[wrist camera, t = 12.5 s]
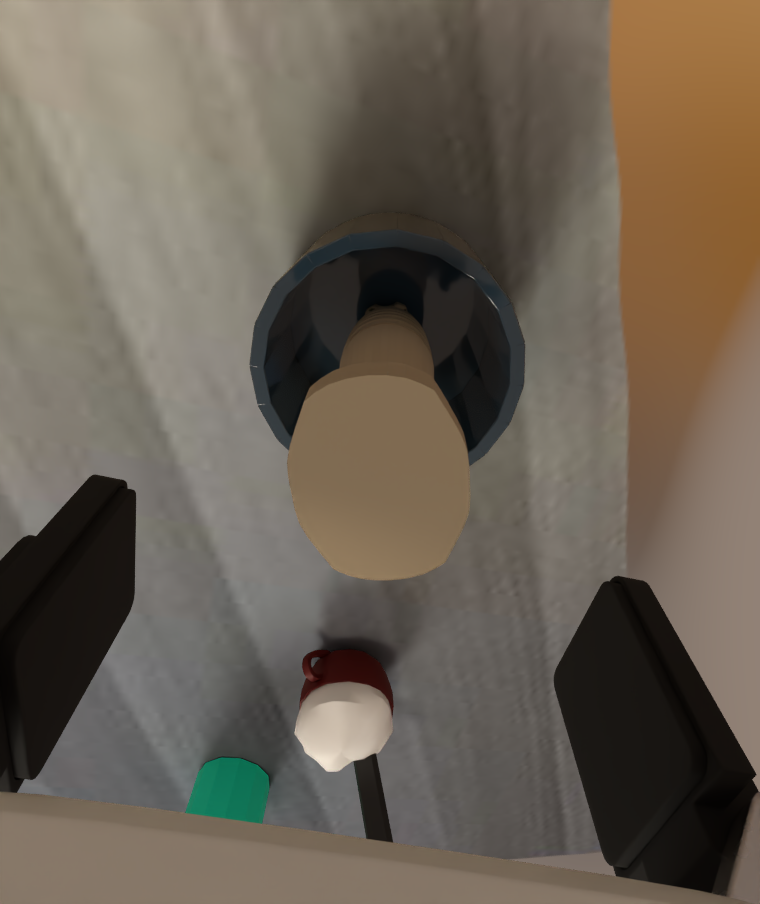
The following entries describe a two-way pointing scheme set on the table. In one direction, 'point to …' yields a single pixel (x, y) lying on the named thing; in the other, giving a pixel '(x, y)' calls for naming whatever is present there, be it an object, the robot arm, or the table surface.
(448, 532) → the handle
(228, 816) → the candle
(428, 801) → the table surface
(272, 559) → the table surface
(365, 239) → the crock
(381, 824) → the cocoa
